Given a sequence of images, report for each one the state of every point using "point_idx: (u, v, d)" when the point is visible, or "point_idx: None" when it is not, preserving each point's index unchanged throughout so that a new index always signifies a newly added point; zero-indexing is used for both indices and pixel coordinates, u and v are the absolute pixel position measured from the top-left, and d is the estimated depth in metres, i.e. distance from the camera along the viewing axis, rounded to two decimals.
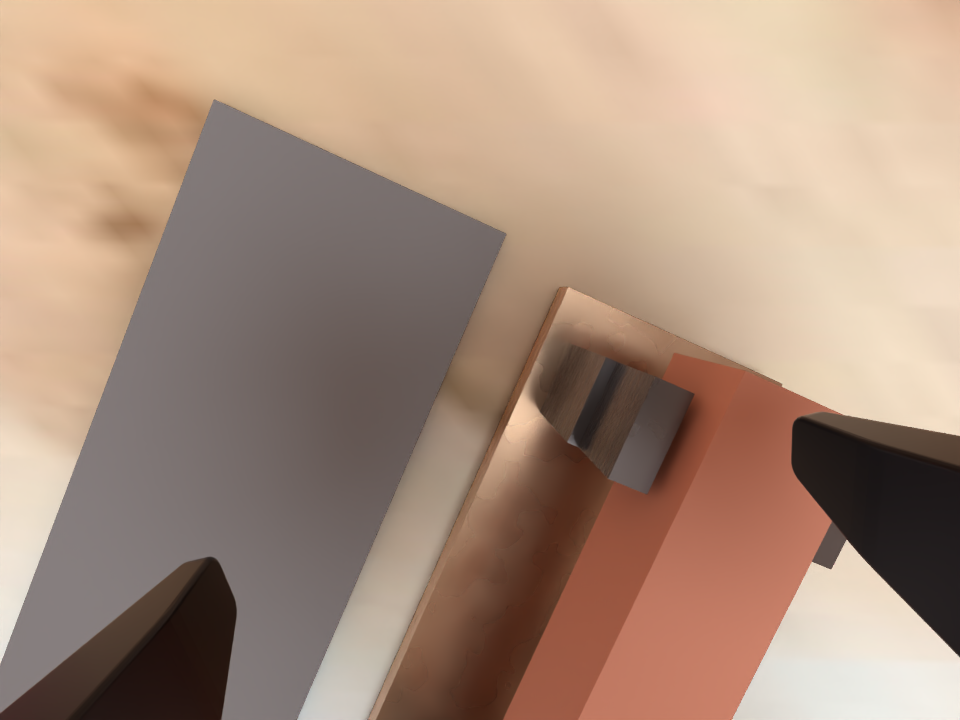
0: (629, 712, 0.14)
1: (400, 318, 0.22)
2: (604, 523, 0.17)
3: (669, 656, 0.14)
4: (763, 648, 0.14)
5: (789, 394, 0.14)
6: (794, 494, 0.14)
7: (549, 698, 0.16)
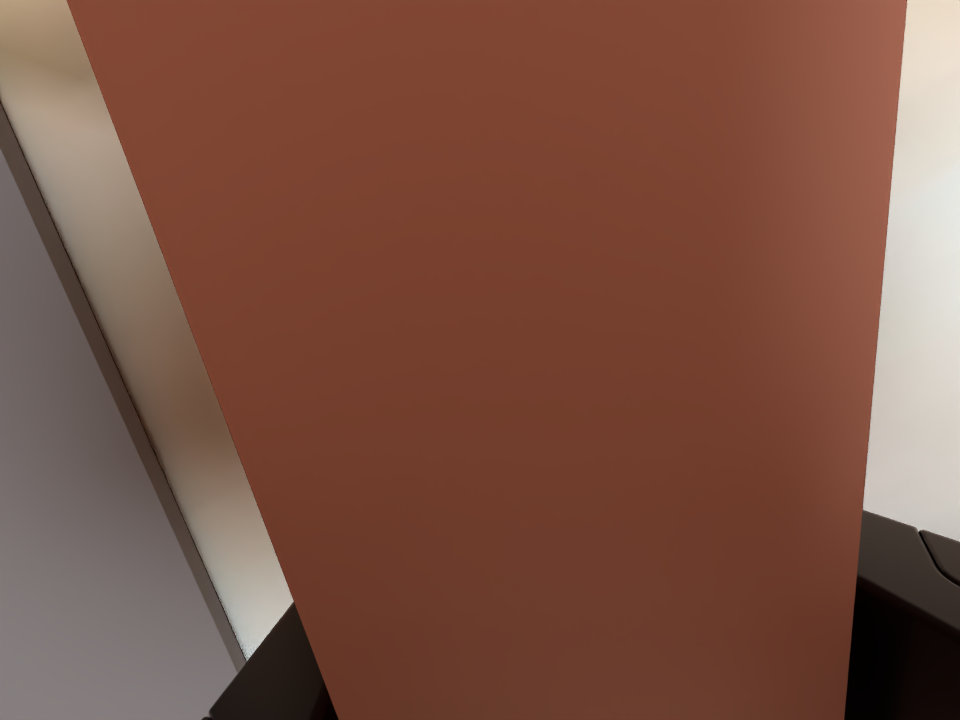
0: (447, 420, 0.03)
1: None
2: None
3: (442, 74, 0.03)
4: None
5: None
6: None
7: None
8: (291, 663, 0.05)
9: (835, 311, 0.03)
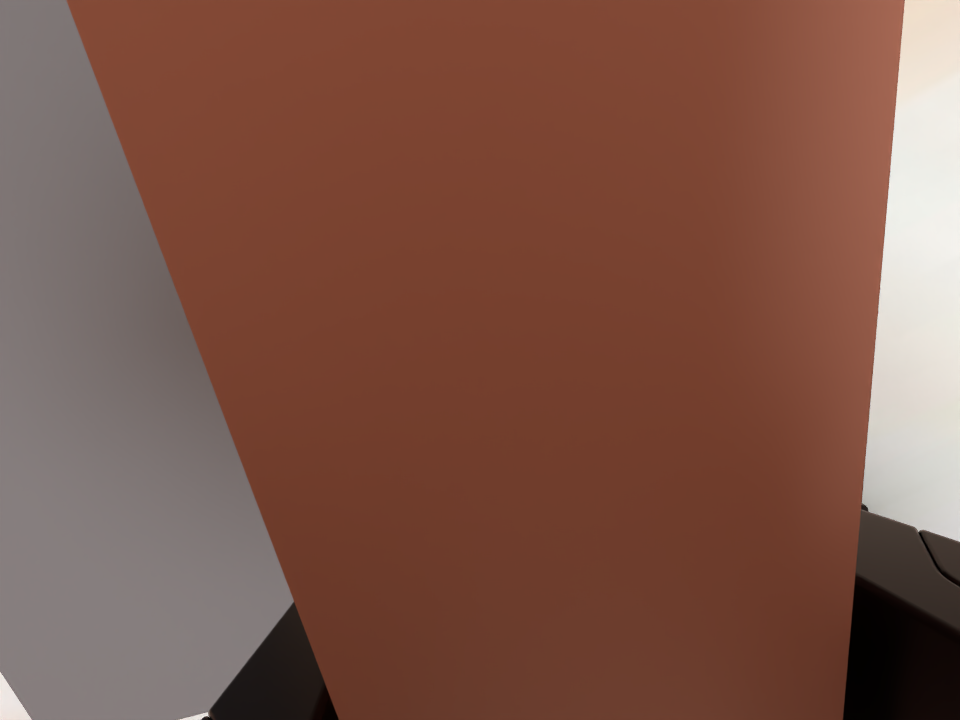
0: (446, 418, 0.03)
1: (2, 42, 0.15)
2: None
3: (440, 73, 0.03)
4: None
5: None
6: None
7: None
8: (291, 663, 0.05)
9: (833, 309, 0.03)
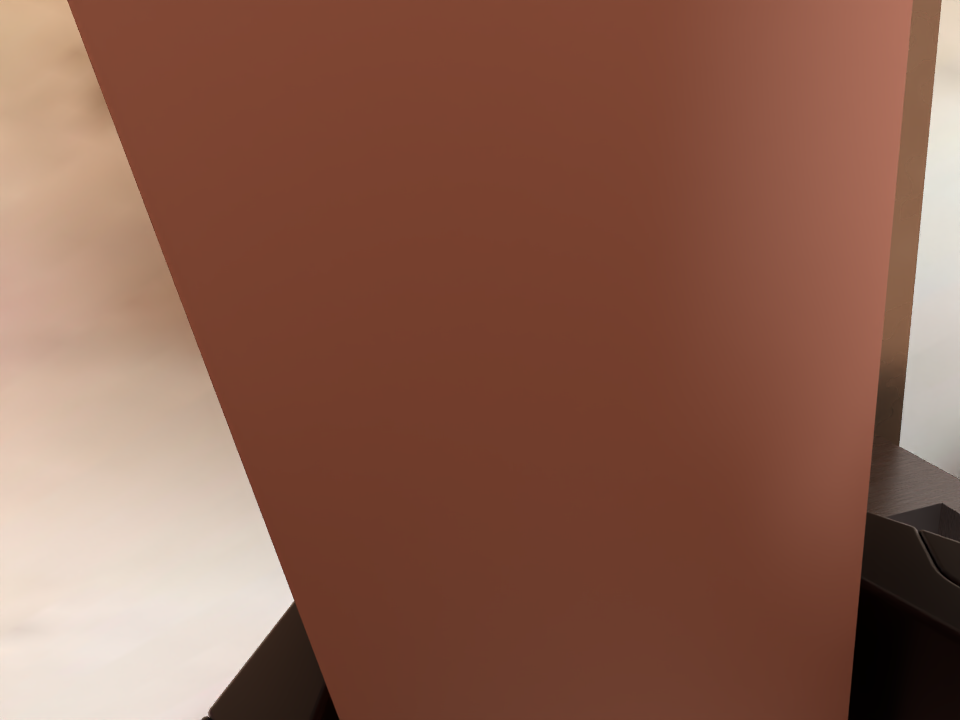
0: (447, 414, 0.03)
1: None
2: None
3: (444, 63, 0.03)
4: None
5: None
6: None
7: None
8: (291, 663, 0.05)
9: (840, 304, 0.03)
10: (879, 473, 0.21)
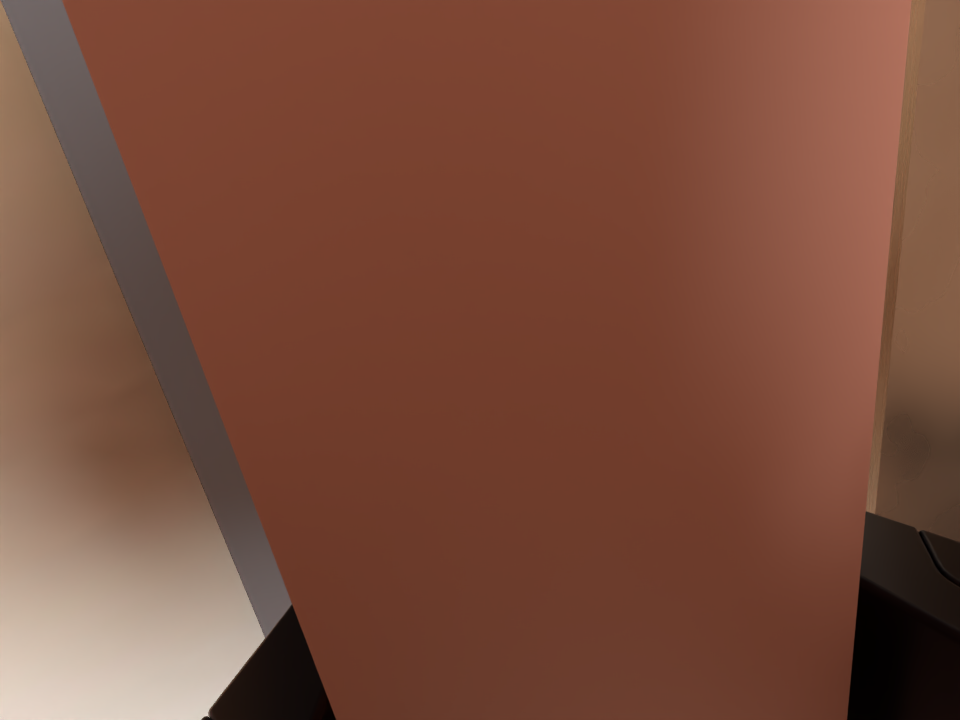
0: (444, 416, 0.03)
1: None
2: None
3: (442, 60, 0.03)
4: None
5: None
6: None
7: None
8: (291, 663, 0.05)
9: (838, 305, 0.03)
10: None
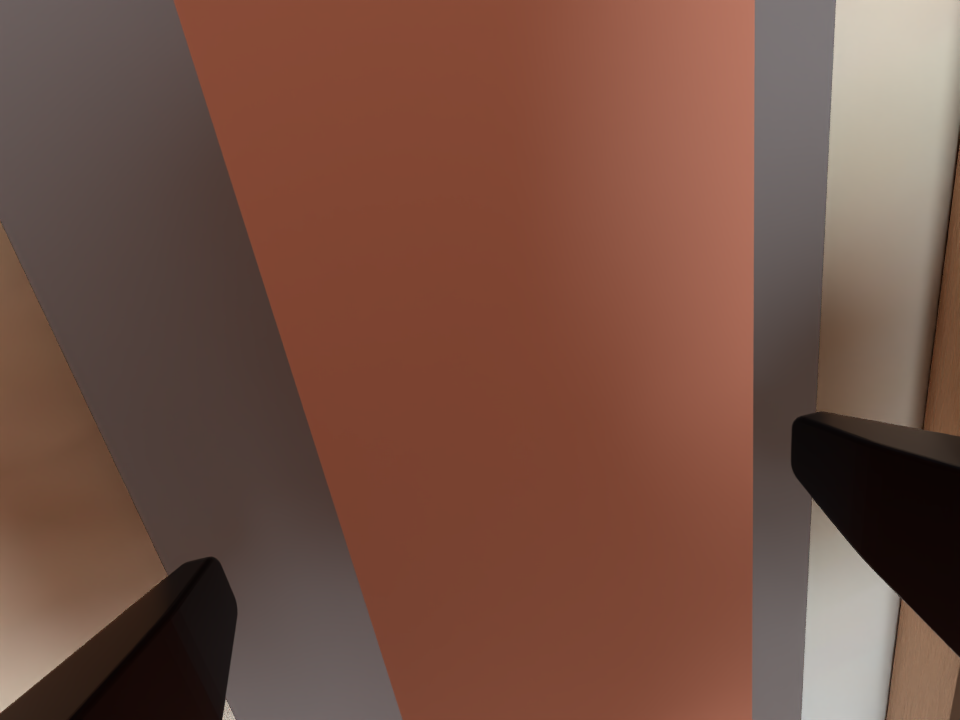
0: (437, 344, 0.05)
1: None
2: None
3: (433, 98, 0.04)
4: None
5: None
6: None
7: None
8: None
9: (720, 267, 0.05)
10: None
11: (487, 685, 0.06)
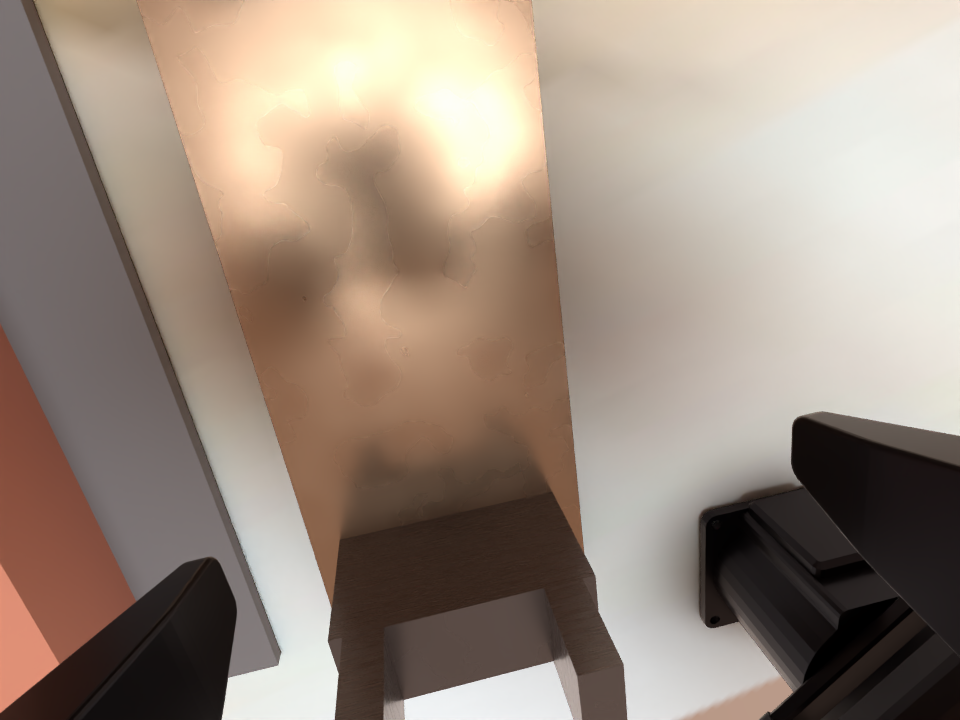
0: None
1: None
2: None
3: None
4: None
5: None
6: None
7: None
8: None
9: None
10: (512, 543, 0.18)
11: None
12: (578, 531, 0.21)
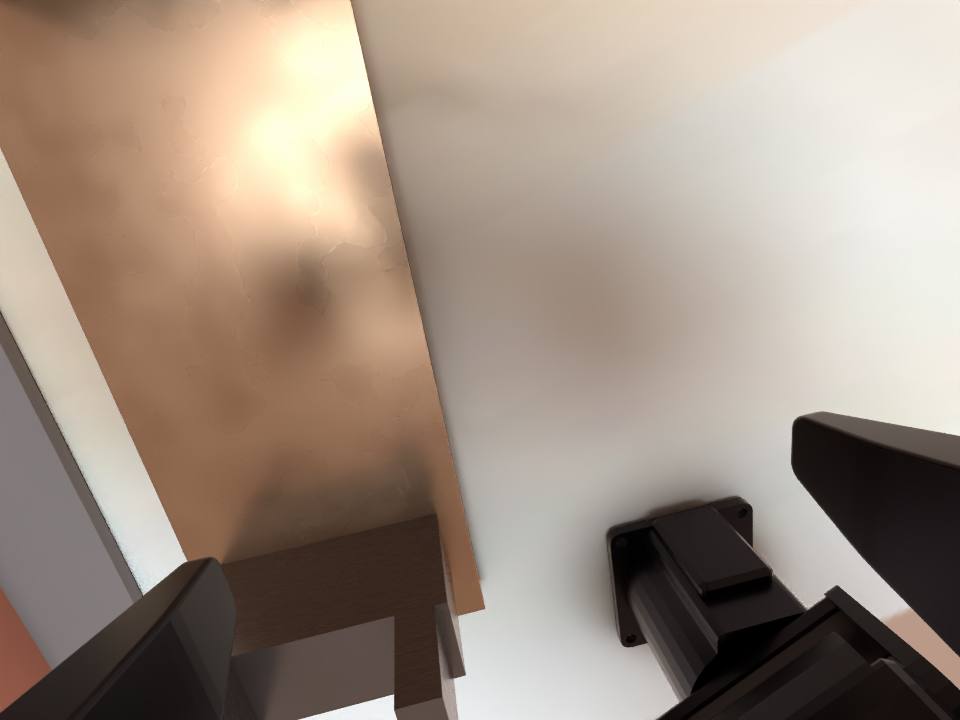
0: None
1: None
2: None
3: None
4: None
5: None
6: None
7: None
8: None
9: None
10: (380, 568, 0.18)
11: None
12: (468, 552, 0.21)
